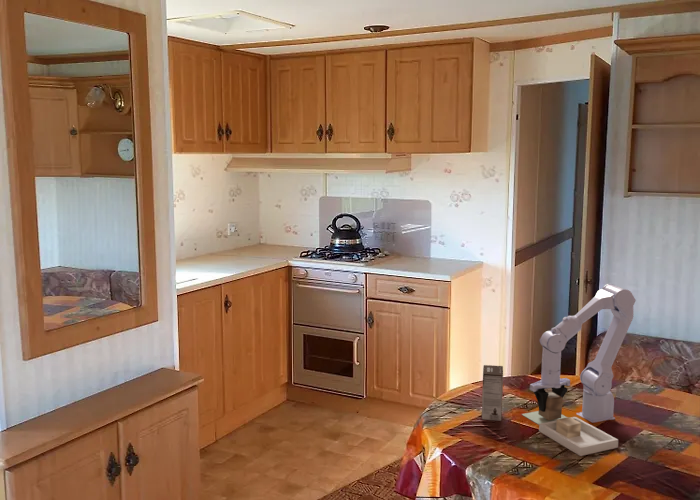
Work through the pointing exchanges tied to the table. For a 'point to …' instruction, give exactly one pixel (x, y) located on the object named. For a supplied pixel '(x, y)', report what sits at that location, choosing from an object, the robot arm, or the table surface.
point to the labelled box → (552, 407)
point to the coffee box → (492, 392)
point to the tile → (539, 417)
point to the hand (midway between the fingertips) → (549, 409)
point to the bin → (581, 438)
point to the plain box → (568, 427)
